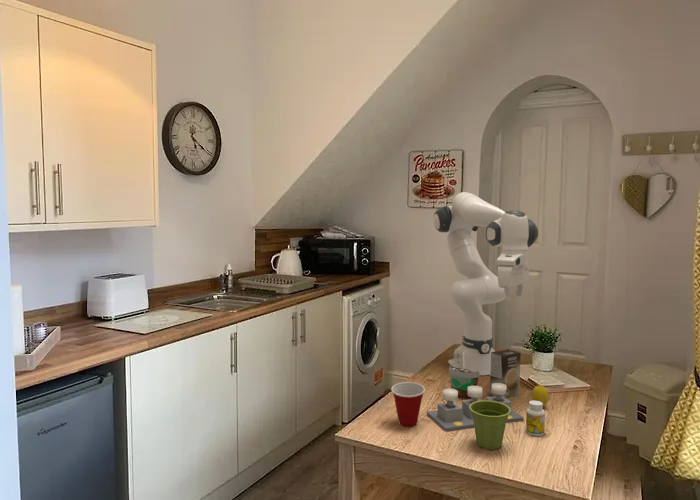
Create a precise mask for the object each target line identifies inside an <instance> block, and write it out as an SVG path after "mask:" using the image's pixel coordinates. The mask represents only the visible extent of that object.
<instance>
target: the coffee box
mask: <svg viewBox="0 0 700 500" xmlns="http://www.w3.org/2000/svg"><path fill="white" fill-rule="evenodd" d="M521 356H522V352H519V351H516V350H513V349H510V348H509V349H508V348H507V349H502V350H497V351H496V350H495V352H491V370H490V375H489V376H490V379H489V395H490V396H491V397H495V396H496V394H493V393H492V392H491V389H492V384H493V383H502V384H505V385H506V394H504V395H502V396H503V397H504V398H506V399H510V398H512V397H513V398H514V397H516V396H519V395H520V379H521V378H520V377H521V376H520V375H521Z"/></svg>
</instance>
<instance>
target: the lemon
mask: <svg viewBox="0 0 700 500" xmlns="http://www.w3.org/2000/svg"><path fill="white" fill-rule="evenodd" d="M548 391H549V390H548V389H547V388H546V387H545V386H543V385H542V384H539V385H536V386H535V387H533V389H532V391H531V401H540V402H542V403H543V406H546V405H547V403H548V401H549V392H548Z"/></svg>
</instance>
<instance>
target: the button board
mask: <svg viewBox="0 0 700 500" xmlns="http://www.w3.org/2000/svg"><path fill="white" fill-rule="evenodd" d="M478 401H482V400H481V399H479V398H478ZM485 401H496V396H495V397H494V396H490V397H489V396H488V397H485ZM496 402H497V401H496ZM498 402H500V403H503V404H505V405H507V406H508V407H510V409H511V412H510V414H509V415H508V419H507V421H506V424H507V423H508V424H509V423H514V422H523V421H524V417H523V416H522V415H520V414H519V413H517V412H516V411H514V410H513V409H512V401H510V400H509V398H504V397H503V396H502V401H498ZM471 403H472V398H470V399H464V400H461V405H459V404H458V403H457V402H455V401H453V407H451V408H448V407H447V402H441V403H437V409H436V410H428V411H426V415H427V416H428V417H429V418H430V419H431V420H432V421H433V422H434V423H436V424H437V425H438V426H439V427H440V428H441V429H442V430H443V431H445V432H452V431H458V430H466V429H472V428H473V429H475V428H474V421H473V417H472V412H471V410H470V408H469V406H470V404H471Z"/></svg>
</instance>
